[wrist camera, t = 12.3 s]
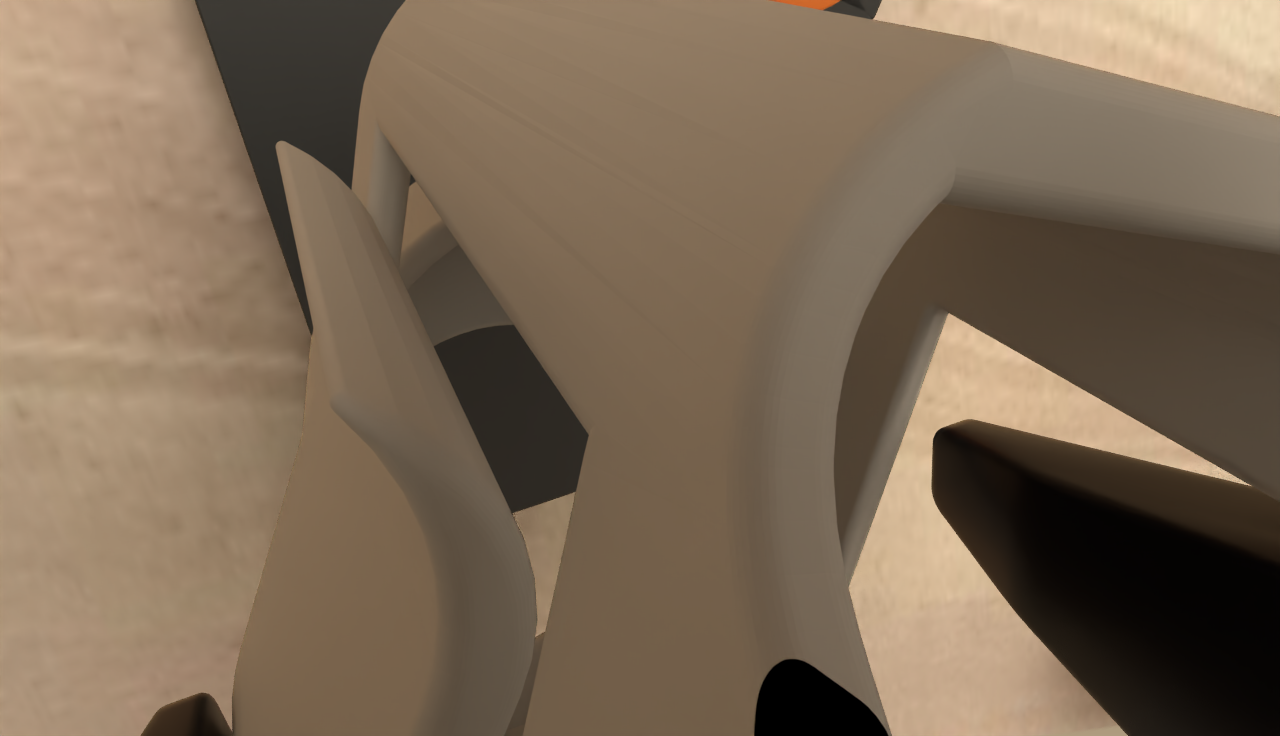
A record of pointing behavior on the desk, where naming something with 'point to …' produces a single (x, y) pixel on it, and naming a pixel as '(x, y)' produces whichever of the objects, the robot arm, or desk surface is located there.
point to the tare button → (810, 3)
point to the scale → (327, 130)
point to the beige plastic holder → (713, 344)
